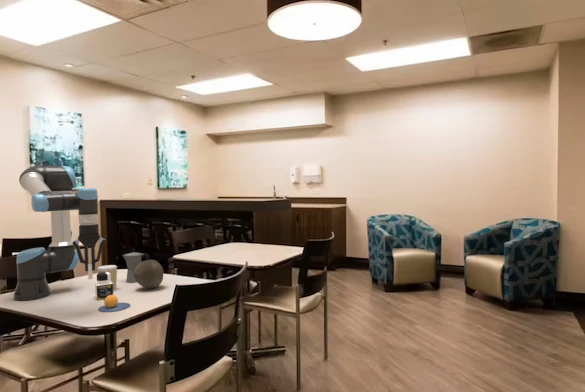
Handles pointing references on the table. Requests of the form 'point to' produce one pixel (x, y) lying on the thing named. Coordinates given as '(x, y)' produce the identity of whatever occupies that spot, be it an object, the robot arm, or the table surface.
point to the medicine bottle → (103, 285)
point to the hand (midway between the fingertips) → (90, 278)
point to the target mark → (117, 308)
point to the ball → (110, 301)
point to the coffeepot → (133, 264)
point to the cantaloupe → (149, 274)
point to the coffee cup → (113, 272)
